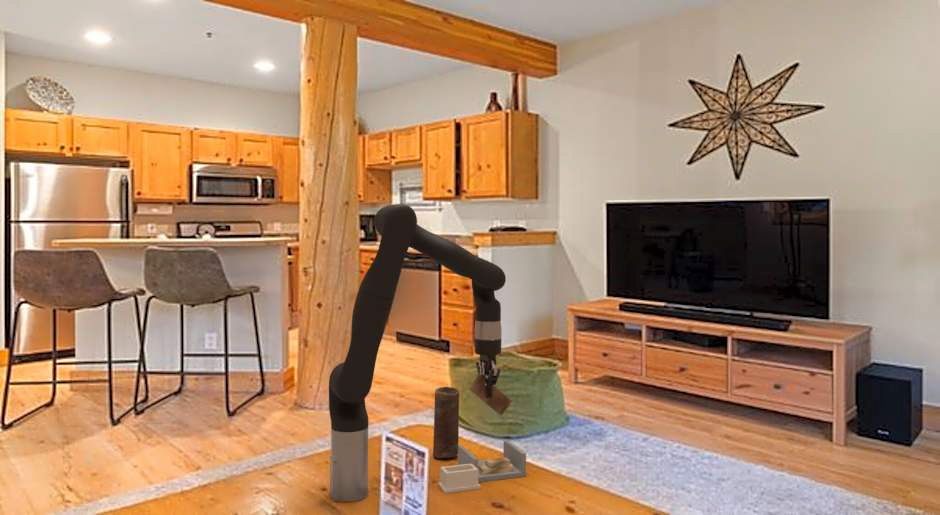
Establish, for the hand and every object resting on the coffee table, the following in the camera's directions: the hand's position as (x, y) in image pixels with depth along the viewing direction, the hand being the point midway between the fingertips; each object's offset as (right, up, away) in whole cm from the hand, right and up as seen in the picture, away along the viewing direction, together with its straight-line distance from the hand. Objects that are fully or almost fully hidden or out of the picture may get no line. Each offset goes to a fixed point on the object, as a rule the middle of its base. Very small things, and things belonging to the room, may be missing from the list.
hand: (487, 398), depth 181 cm
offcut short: (+3, -17, -6) cm, 18 cm away
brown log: (-12, -20, +10) cm, 25 cm away
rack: (+1, -19, -3) cm, 20 cm away
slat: (+5, -3, +2) cm, 6 cm away
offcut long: (+2, -18, -6) cm, 19 cm away
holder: (-8, -20, -14) cm, 25 cm away
